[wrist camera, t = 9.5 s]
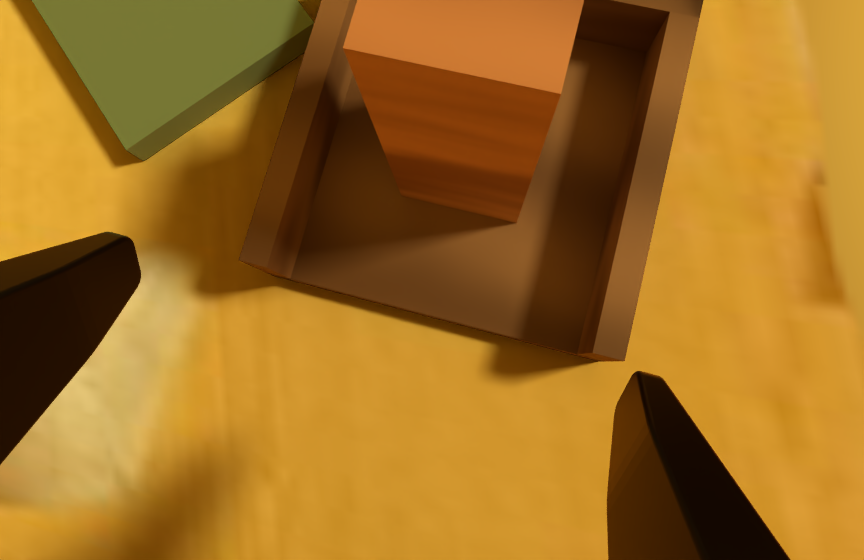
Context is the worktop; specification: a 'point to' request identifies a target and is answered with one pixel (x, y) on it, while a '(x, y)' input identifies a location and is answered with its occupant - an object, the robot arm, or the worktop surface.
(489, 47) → the block
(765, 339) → the worktop surface
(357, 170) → the tray
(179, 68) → the notebook
